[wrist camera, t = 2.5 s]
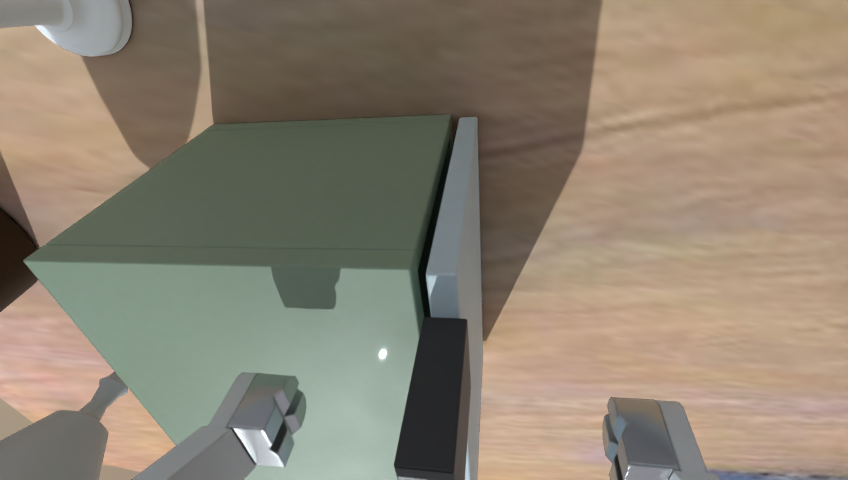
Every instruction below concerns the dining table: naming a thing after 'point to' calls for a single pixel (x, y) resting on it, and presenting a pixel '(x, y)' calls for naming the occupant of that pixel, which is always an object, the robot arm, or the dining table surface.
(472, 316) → the sliding door
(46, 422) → the chalice
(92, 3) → the chess piece
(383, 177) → the cabinet
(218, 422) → the robot arm
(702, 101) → the dining table surface
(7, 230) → the dark brown necked cylinder
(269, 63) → the dining table surface
